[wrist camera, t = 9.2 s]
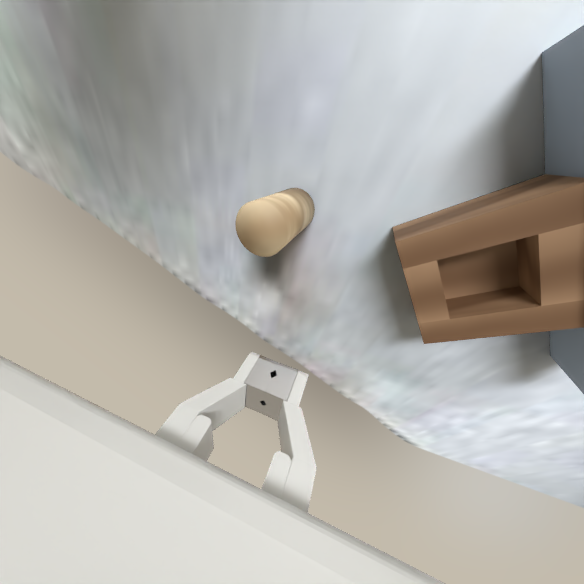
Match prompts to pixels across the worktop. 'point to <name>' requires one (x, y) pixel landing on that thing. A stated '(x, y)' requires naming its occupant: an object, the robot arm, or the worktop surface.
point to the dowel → (274, 221)
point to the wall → (565, 160)
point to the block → (498, 262)
